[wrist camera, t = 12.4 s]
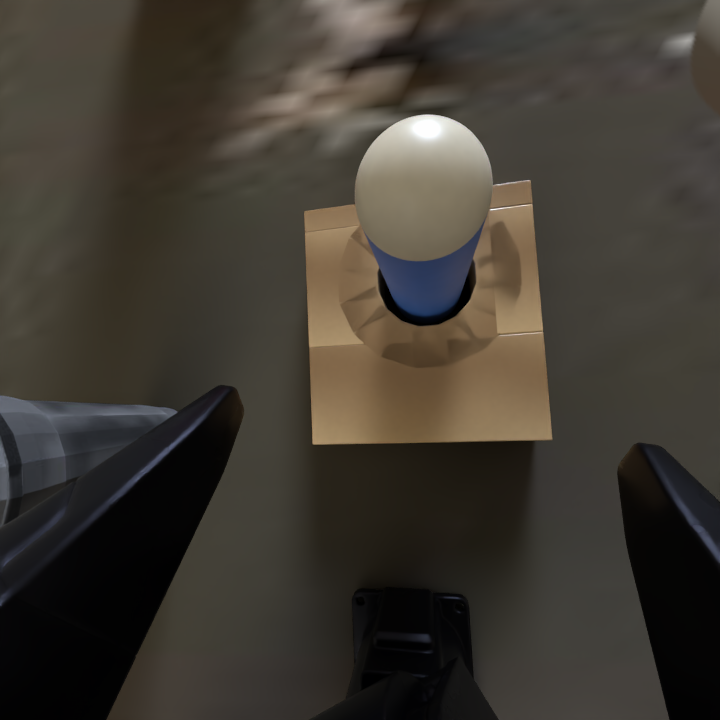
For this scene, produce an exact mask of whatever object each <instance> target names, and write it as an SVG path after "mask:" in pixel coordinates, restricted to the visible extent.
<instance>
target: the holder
mask: <svg viewBox="0 0 720 720" xmlns="http://www.w3.org/2000/svg"><path fill="white" fill-rule="evenodd" d="M532 203H533V202H532V191H531V181H530V180H527V181H520V182H513V183H505V184H498V185H493V191H492V198H491V204H490V207H489V211H488V214H487V217H486V220H485V223H484V226H483V229H482V232H481V235H480V238H479V241H478V244H477V247H476V250H475V253H474V256H473V259H472V262H471V265H470V268H469V271H468V274H467V277H468V279H469V288H470V298H469V300H468V303H467V304H466V305H465V307H464V308H463V309H462V310H461V311H460V312H459V313H458V314H457V315H456V316H455V317H453V318H451V319H449V320H447V321H445V322H443V323H441V324H439V325H426V326H417V325H414V324H411V323H408V322H404V321H401V320H400V319H399V318H398V317H396V316H395V315H394V314H393V313H392V312H391V311H389V310H388V308H387V306H386V304H385V289H384V287H385V284H386V281H385V279H384V277H383V275H382V272H381V270H380V268H379V265H378V263H377V261H376V258H375V256H374V254H373V252H372V249H371V247H370V245H369V242H368V240H367V238H366V236H365V233H364V231H363V229H362V226H361V224H360V221H359V219H358V215H357V211H356V206H355V204H354V205H347V206H340V207H332V208H325V209H318V210H311V211H305V212H304V220H305V248H306V276H307V303H308V331H309V357H310V385H311V412H312V440H313V445H328V444H382V443H436V442H491V441H545V440H552V428H551V417H550V405H549V393H548V381H547V369H546V357H545V345H544V334H543V324H542V312H541V300H540V288H539V276H538V264H537V252H536V241H535V229H534V217H533V206H532Z"/></svg>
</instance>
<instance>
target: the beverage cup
mask: <svg viewBox="0 0 720 720" xmlns="http://www.w3.org/2000/svg"><path fill="white" fill-rule="evenodd" d="M176 413H177V411H175V410H174V409H170V408H166V407H160V408H159V407H152V406H148V405H127V404H104V403H80V402H56V401H32V400H20V399H16V398H13V397H8V396H1V395H0V527H2V526H4V525H5V524H7V523H9V522H10V521H12V520H14V519H15V518H17V517H18V516H20V515H22V514H23V513H25V512H27V511H28V510H30V509H32V508H33V507H35V506H36V505H38V504H39V503H41V502H43V501H44V500H46V499H47V498H49V497H50V496H52V495H53V494H55V493H57V492H58V491H60V490H61V489H63V488H64V487H66V486H67V485H69V484H70V483H72V482H73V481H77V479H78V478H79V477H81V476H82V475H84V474H85V473H87V472H88V471H90V470H91V469H93V468H94V467H96V466H97V465H99V464H100V463H102V462H103V461H105V460H106V459H108V458H109V457H111V456H112V455H114V454H115V453H117V452H118V451H120V450H122V449H123V448H125V447H126V446H128V445H129V444H131V443H132V442H134V441H135V440H137V439H138V438H140V437H141V436H143V435H144V434H146V433H147V432H149V431H150V430H152V429H153V428H155V427H156V426H158V425H159V424H161V423H162V422H164V421H165V420H167V419H168V418H170V417H171V416H173V415H174V414H176Z"/></svg>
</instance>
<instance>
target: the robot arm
mask: <svg viewBox="0 0 720 720" xmlns="http://www.w3.org/2000/svg"><path fill="white" fill-rule="evenodd" d="M243 416H244V408H243V405H242V402H241V399H240V397H239V394H238V392H237V389H236V388H235V387H232V386H225V385H219V386H217V387H215V388H213V389H212V390H210V391H209V392H207V393H206V394H204V395H203V396H201V397H200V398H198V399H197V400H195V401H194V402H192V403H191V404H189V405H188V406H186V407H185V408H183V409H182V410H180V411H179V412H177V413H176V414H174V415H173V416H171V417H170V418H168V419H167V420H165V421H164V422H162V423H161V424H159V425H158V426H156V427H155V428H153V429H152V430H150V431H149V432H147V433H146V434H144V435H143V436H141V437H140V438H138V439H137V440H135V441H134V442H132V443H131V444H129V445H128V446H126V447H125V448H123V449H122V450H120V451H118V452H117V453H115V454H114V455H112V456H111V457H109V458H108V459H106V460H105V461H103V462H102V463H100V464H99V465H97V466H96V467H94V468H93V469H91V470H90V471H88V472H87V473H85V474H84V475H82V476H81V477H79V478H78V479H77V481H73V482H72V483H70V484H69V485H67V486H66V487H64V488H63V489H61V490H60V491H58V492H57V493H55V494H53V495H52V496H50V497H49V498H47V499H46V500H44V501H43V502H41V503H39V504H38V505H36V506H35V507H33V508H32V509H30V510H28V511H27V512H25V513H23V514H22V515H20V516H18V517H17V518H15V519H14V520H12V521H10V522H9V523H7V524H5V525H4V526H2V527H0V720H106V719H107V717H108V715H109V713H110V711H111V709H112V706H113V704H114V702H115V700H116V698H117V696H118V694H119V692H120V690H121V688H122V685H123V683H124V681H125V679H126V677H127V675H128V673H129V671H130V669H131V667H132V664H133V662H134V660H135V658H136V656H135V655H137V653H138V651H139V649H140V647H141V645H142V643H143V641H144V639H145V637H146V634H147V632H148V630H149V628H150V626H151V624H152V622H153V620H154V618H155V616H156V613H157V611H158V609H159V607H160V605H161V603H162V601H163V599H164V597H165V595H166V592H167V590H168V588H169V586H170V584H171V582H172V580H173V578H174V576H175V573H176V571H177V569H178V567H179V565H180V563H181V561H182V559H183V557H184V555H185V552H186V550H187V548H188V546H189V544H190V542H191V540H192V538H193V536H194V534H195V531H196V529H197V527H198V525H199V523H200V521H201V519H202V517H203V515H204V513H205V510H206V508H207V506H208V504H209V502H210V500H211V498H212V496H213V494H214V492H215V489H216V487H217V485H218V483H219V481H220V479H221V477H222V474H223V472H224V470H225V467H226V465H227V462H228V459H229V456H230V453H231V451H232V448H233V445H234V442H235V439H236V436H237V433H238V431H239V428H240V425H241V422H242V419H243ZM617 475H618V484H619V492H620V500H621V508H622V516H623V524H624V532H625V539H626V545H627V550H628V554H629V559H630V563H631V567H632V571H633V575H634V579H635V583H636V587H637V591H638V595H639V599H640V603H641V607H642V611H643V615H644V619H645V623H646V627H647V631H648V635H649V639H650V643H651V647H652V651H653V655H654V659H655V663H656V667H657V671H658V675H659V679H660V683H661V687H662V691H663V695H664V699H665V704H666V708H667V712H668V716H669V720H720V502H719V501H718V500H717V499H716V498H715V497H714V496H713V495H712V494H711V493H710V492H709V491H708V490H707V489H706V488H705V487H704V486H703V485H702V484H700V483H699V482H698V481H697V480H696V479H695V478H694V477H693V476H692V475H691V474H690V473H689V472H688V471H687V470H686V469H685V468H684V467H683V466H682V465H681V464H680V463H678V462H677V461H676V460H675V459H674V458H673V457H672V456H671V455H670V454H669V453H668V452H667V451H666V450H665V449H664V448H662V447H661V446H658V445H653V444H646V443H637V444H634V445H633V446H632V448H631V449H630V450H629V452H628V453H627V454H626V456H625V457H624V458H623V460H622V461H621V462H620V464H619V466H618V471H617ZM358 597H362V598H363V599H364V600H365V602H360V601H359V600H358ZM456 603H462V604H463V607H462V608H457V607H456V606H455V604H456ZM352 612H353V636H354V659H355V667H354V670H353V674H352V678H351V681H350V685H349V689H348V692H347V696H346V699H345V700H344V701H342V702H340V703H338V704H336V705H335V706H333V707H331V708H329V709H327V710H326V711H324V712H322V713H320V714H319V715H317V716H315V717H313V718H311V719H310V720H498V718H497V716H496V715H495V713H494V712H493V710H492V708H491V707H490V705H489V703H488V702H487V700H486V699H485V697H484V695H483V694H482V692H481V690H480V689H479V687H478V686H477V684H476V682H475V681H474V676H473V661H472V646H471V630H470V615H469V605H468V601H467V599H466V598H465V597H464V596H463V595H461V594H450V593H432V592H431V591H430V590H429V589H412V588H392V587H387V588H385V589H384V590H376V589H358V590H356V591H355V593H354V595H353V598H352Z"/></svg>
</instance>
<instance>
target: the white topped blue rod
mask: <svg viewBox="0 0 720 720" xmlns="http://www.w3.org/2000/svg"><path fill="white" fill-rule="evenodd" d="M492 191H493V178H492V170H491V165H490V162H489V159H488V156H487V154H486V152H485V150H484V148H483V146H482V144H481V143H480V141H479V140H478V139H477V138H476V137H475V135H474V134H473V133H472V132H471V131H470V130H469V129H467V128H466V127H465V126H463V125H462V124H460V123H459V122H457V121H454V120H452V119H450V118H446V117H443V116H438V115H418V116H414V117H409V118H407V119H404V120H401V121H399V122H397V123H395V124H394V125H392V126H391V127H389V128H388V129H387V130H385V131H384V132H383V133H382V134H381V135H379V137H378V138H377V139H376V140H375V141H374V142H373V143H372V145H371V146H370V147H369V149H368V151H367V152H366V154H365V156H364V157H363V160H362V162H361V164H360V167H359V170H358V174H357V178H356V183H355V206H356V211H357V215H358V219H359V221H360V224H361V226H362V229H363V231H364V233H365V236H366V238H367V240H368V242H369V245H370V247H371V249H372V252H373V254H374V256H375V258H376V261H377V263H378V265H379V268H380V270H381V272H382V275H383V277H384V279H385V281H386V284H387V286H388V288H389V291H390V293H391V295H392V297H393V300H394V302H395V304H396V306H397V308H398V310H399V311H400V312H401V313H402V314H403V315H404V316H405V317H406V318H408V319H410V320H412V321H414V322H417V323H424V324H425V323H434V322H437V321H440V320H442V319H444V318H445V317H447V316H448V315H449V314H450V313H451V312H452V311H453V310H454V309H455V307H456V305H457V303H458V301H459V298H460V295H461V292H462V289H463V286H464V283H465V280H466V277H467V274H468V271H469V268H470V265H471V262H472V259H473V256H474V253H475V250H476V247H477V244H478V241H479V238H480V235H481V232H482V229H483V226H484V223H485V220H486V217H487V214H488V211H489V207H490V204H491V198H492Z"/></svg>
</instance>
